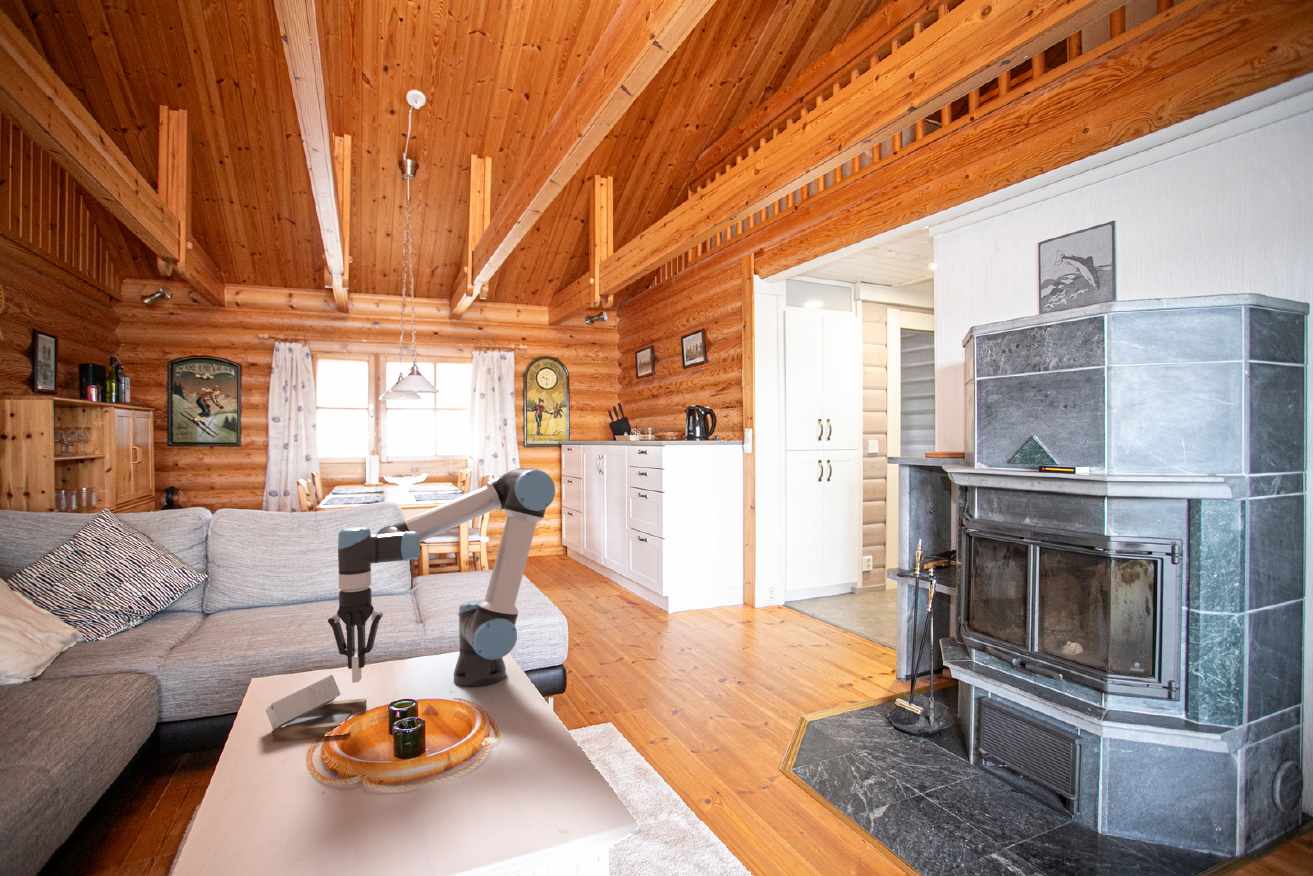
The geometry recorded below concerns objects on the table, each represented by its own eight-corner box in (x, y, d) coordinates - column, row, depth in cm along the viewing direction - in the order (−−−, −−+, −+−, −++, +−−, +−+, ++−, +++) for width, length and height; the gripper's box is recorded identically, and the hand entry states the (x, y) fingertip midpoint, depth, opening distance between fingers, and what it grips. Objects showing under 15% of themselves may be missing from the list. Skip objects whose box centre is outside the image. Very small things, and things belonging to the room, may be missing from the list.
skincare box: (334, 700, 167) (273, 732, 156) (325, 679, 168) (263, 710, 157) (341, 694, 161) (279, 727, 150) (332, 672, 162) (269, 704, 151)
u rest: (366, 707, 168) (366, 698, 168) (348, 734, 153) (348, 724, 153) (297, 713, 165) (297, 704, 165) (272, 742, 150) (271, 731, 150)
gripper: (385, 583, 166) (387, 673, 166) (332, 586, 163) (334, 677, 163) (378, 590, 158) (380, 683, 158) (322, 593, 156) (324, 688, 156)
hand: (356, 680), depth 161 cm, fingers closed
